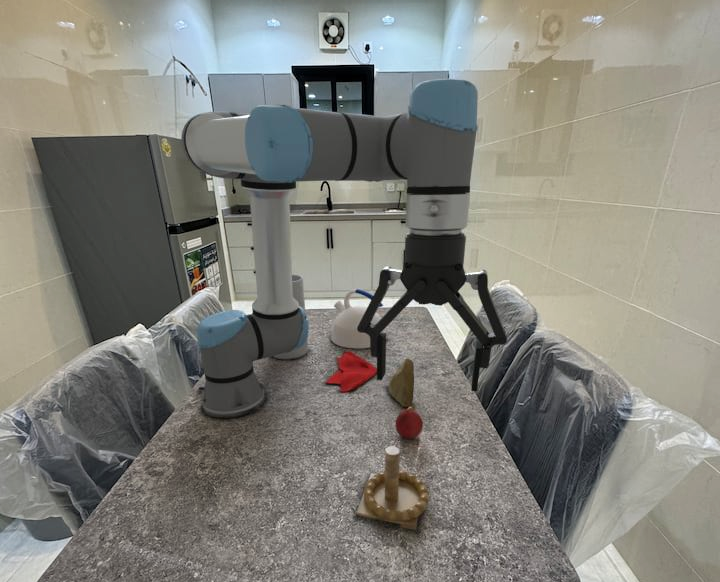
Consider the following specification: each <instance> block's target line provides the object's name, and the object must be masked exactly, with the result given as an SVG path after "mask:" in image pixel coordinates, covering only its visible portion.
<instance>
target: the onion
mask: <svg viewBox="0 0 720 582" xmlns="http://www.w3.org/2000/svg"><path fill="white" fill-rule="evenodd" d="M394 424H395V430H396V432H397V434H398V435H399V436H401V438H404V439H407V440H408V439H409V440H410V439H413V438H416V437H418V436H419V435H420V434H421V433H422V430H423V427H424V422H423V419H422V417H421V415H420V414H419V413H418V412H417V411H415V410H414V407H413V406H411V407H407V409H404V410H402V411H401V412H400V413H399V414H398V415H397V417H396V419H395V423H394Z"/></svg>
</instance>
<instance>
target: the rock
mask: <svg viewBox="0 0 720 582" xmlns="http://www.w3.org/2000/svg"><path fill="white" fill-rule="evenodd" d="M414 365H415V363H414V361H413V360H411V359H409V358H405V359H404V361H403V362H402V363H401V364H400V365H399V367H398V369H396V372H395V374H393V375H392V377H391V379H390V381H389V384H388V386H387V389H388V392H389V395H390V396H391V397H392V398H393V399H395V400H396V401H397V402H398V403H399V404H400V406H401V407H403V408H406V407H407V408H409V407H412V404H413V401H414V391H415V366H414Z"/></svg>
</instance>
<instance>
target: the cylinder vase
mask: <svg viewBox="0 0 720 582" xmlns="http://www.w3.org/2000/svg"><path fill="white" fill-rule="evenodd" d="M304 289H305V288H304V277H303V276H302V275H300V274H293V273H292V291H293V298H294V299H295V300H296V301H298V303H299V306H300V307H302V308H303V310H304V311H305V312H306V303H305V290H304ZM308 342H309V341H308V339H307V340H306V342H305V344H304V345H303V346H301V347H300V348H298V349H295V350H292V351H291V352H288V353H281V354H278V355H274V356H272V357H273V358H275V359H277V360H294V359H298V358H301V357H303V356H305V355H306V354H307V353H308V351H309V343H308Z"/></svg>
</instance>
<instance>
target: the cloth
mask: <svg viewBox="0 0 720 582" xmlns="http://www.w3.org/2000/svg"><path fill="white" fill-rule="evenodd" d="M337 365H338V368H339V369H338V371H336V372H335V373H334V374H332V375H331V376H330V377H329V379H328V380H327V381H326V384H329V385H331V384H332V385H340V389H339V392H341V393H345V392H350V391H353V390H355V389H356V388H357V387H359V386H361V385H363V384H364V383H365V382H367V381H368V380H369V379H370V378H371V379H372V377H374V376H375V374H377V367H375V366H374V365H373V364H372V363H370V362H368V361H367V360H365V359H364V358H363V357H360V356H359V355H357V354H356V353H354V352H353V351H352V350H348V351H345V352H344V353H343V354H342V356H341V357H337Z"/></svg>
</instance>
